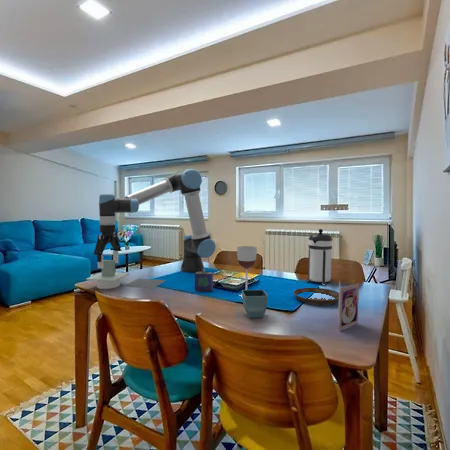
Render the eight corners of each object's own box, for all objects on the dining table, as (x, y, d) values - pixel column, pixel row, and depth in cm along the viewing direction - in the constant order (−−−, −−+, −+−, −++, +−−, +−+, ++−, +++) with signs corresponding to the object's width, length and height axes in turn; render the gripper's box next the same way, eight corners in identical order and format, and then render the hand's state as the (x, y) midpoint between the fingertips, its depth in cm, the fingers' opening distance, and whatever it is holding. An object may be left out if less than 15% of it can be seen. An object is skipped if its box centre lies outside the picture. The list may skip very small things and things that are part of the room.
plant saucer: (285, 295, 141) (285, 289, 141) (321, 291, 148) (321, 285, 148) (311, 310, 122) (311, 302, 122) (351, 304, 129) (351, 297, 129)
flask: (213, 289, 150) (213, 268, 149) (212, 291, 147) (212, 270, 146) (195, 289, 150) (194, 268, 149) (194, 291, 147) (194, 269, 147)
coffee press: (339, 286, 159) (341, 230, 157) (309, 285, 159) (310, 229, 157) (328, 278, 176) (330, 227, 174) (301, 278, 176) (302, 227, 174)
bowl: (123, 284, 159) (123, 275, 158) (112, 290, 148) (112, 280, 148) (105, 283, 161) (105, 274, 160) (92, 288, 150) (92, 278, 150)
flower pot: (241, 311, 119) (241, 289, 118) (262, 311, 119) (263, 289, 119) (244, 320, 110) (244, 296, 109) (267, 319, 111) (268, 296, 110)
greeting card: (341, 332, 100) (342, 288, 99) (322, 325, 106) (323, 283, 105) (359, 324, 107) (361, 283, 106) (341, 318, 113) (342, 279, 112)
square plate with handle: (129, 274, 160) (128, 258, 159) (113, 281, 145) (113, 263, 145) (104, 273, 163) (103, 257, 162) (86, 279, 148) (85, 262, 148)
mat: (166, 281, 167) (166, 280, 167) (153, 289, 150) (153, 288, 150) (138, 279, 170) (138, 278, 170) (122, 287, 153) (122, 286, 153)
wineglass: (258, 294, 143) (258, 246, 141) (253, 300, 133) (254, 249, 132) (239, 292, 146) (240, 245, 144) (233, 298, 136) (234, 248, 135)
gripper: (114, 222, 165) (115, 260, 167) (85, 225, 141) (86, 270, 142) (126, 223, 164) (127, 261, 165) (99, 226, 139) (100, 270, 141)
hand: (108, 265), depth 154 cm, fingers open, 13 cm apart
